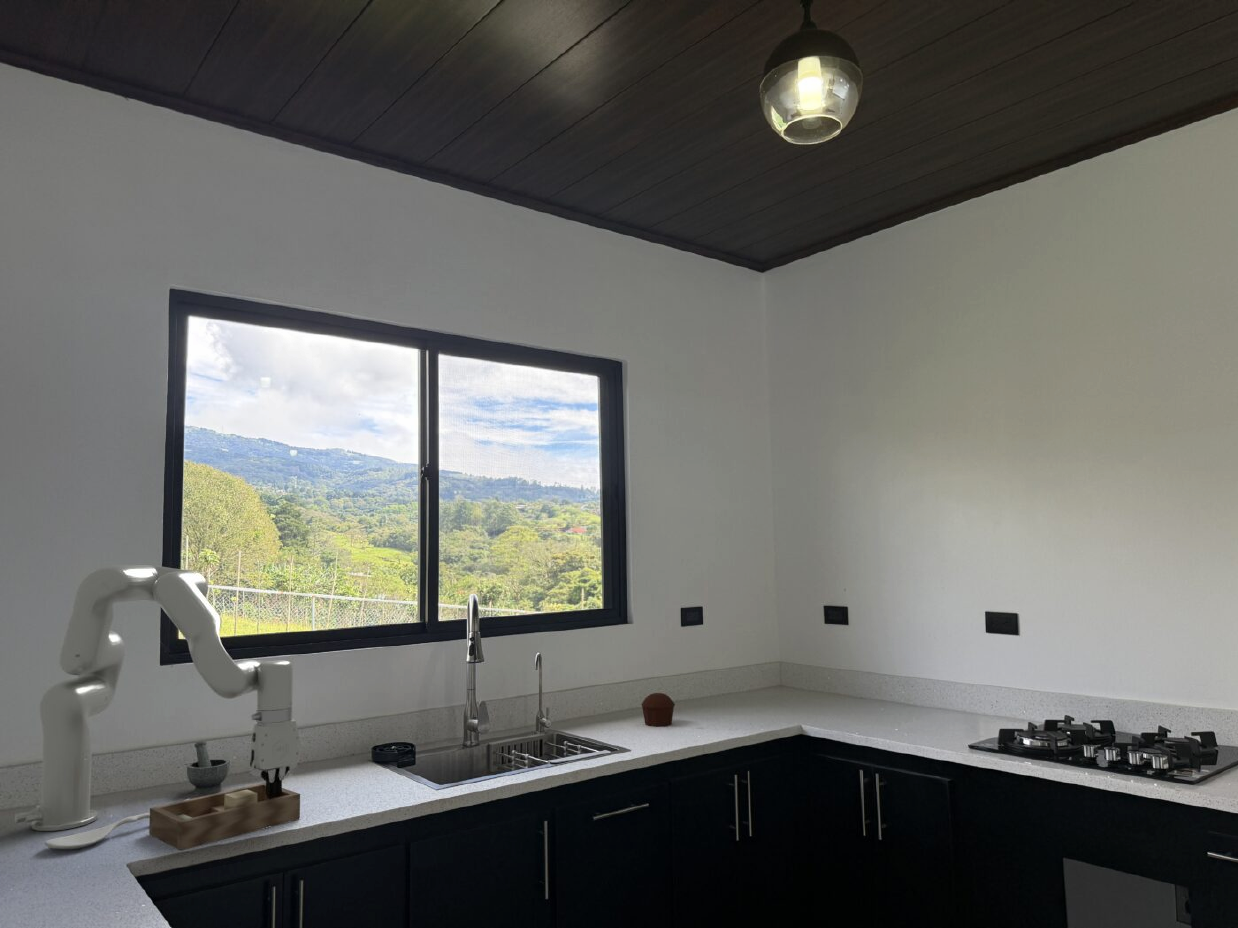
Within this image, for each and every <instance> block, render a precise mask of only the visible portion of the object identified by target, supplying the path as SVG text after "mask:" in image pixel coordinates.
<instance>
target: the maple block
mask: <svg viewBox="0 0 1238 928" xmlns="http://www.w3.org/2000/svg"><path fill="white" fill-rule="evenodd" d="M256 802H257V793H255V792H253V791H250V790H242V791H238V792H233V793H229V794H225V800H224V810H227V809H231V808H235V807H239V806H244V805H248V804H252V803H256Z"/></svg>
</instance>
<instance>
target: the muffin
mask: <svg viewBox="0 0 1238 928" xmlns="http://www.w3.org/2000/svg"><path fill="white" fill-rule="evenodd" d="M640 705H641V707H642V709H641V710H642V714H643V719H644V724H645V726H647V727H652V728H653V727H654V728H660V727H661V728H662V727H670V726H671V725H672V724H673V718H674V717H673V716H674V707H675V705H676V704H675V703H674V701H673V700H672V698H671V697H670V696H669V695H668V694H666V693H662V692H654V693H651V694H649V695H647V696H646V697H645V698H644V700H643V701H642V703H641V704H640Z"/></svg>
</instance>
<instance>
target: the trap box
mask: <svg viewBox="0 0 1238 928" xmlns="http://www.w3.org/2000/svg"><path fill="white" fill-rule="evenodd" d="M242 790H250V791H253V792H255V793H257V802H256V803H252V804H248V805H244V806H239V807H235V808H231V809H227V810H224V800H225V794H229V793H233V792H238V791H242ZM188 799H189V800H186V799H184V800H180V801H176V802H171V803H167V804H162V805H159V806H153V807H150V808H149V813H150V818H149V826H148V827H149V831H148V834H150V836H151V835H152V836H151V837H153V836H154V837H153V838H155V839H157V840H159V841H160V842H163V843H164V844H166V845H169V846H171V847H172V848H173V849H174V848H175V849H176V850H178V851H183V850H188V849H191V848H195V847H199V846H203V845H206V844H210V843H213V842H217V841H221V840H225V839H229V838H233V837H236V836H242V835H245V834H248V833H252V832H256V831H260V830H264V829H267V828H266V827H268V828H270V827H269V826H272V827H275V825H276V826H278V825H283V824H286V823H285V822H287V823H290V822H289V821H291V822H294V821H293V820H295V821H297V820H296V819H299V818H300V819H301V793H298V792H295V791H294V790H293V791H292V790H289V789H286V788H284V787H282V793H281V797H277V798H273V799H268V798H267V796H266V781H265V782H261V783H258V784H252V785H248V786H243V787H239V788H235V789H230V790H229V789H228V790H225V791H222V792H221V791H220V792H217V793H214V794H208V795H201V796H199V797H194V798H188ZM300 819H299V820H300ZM263 828H264V829H263Z"/></svg>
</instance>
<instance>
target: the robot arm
mask: <svg viewBox="0 0 1238 928" xmlns="http://www.w3.org/2000/svg"><path fill="white" fill-rule="evenodd" d="M208 591H209V585H208V582H207V579H205V577H204V576H203V575H202V574H201V573H199V572H197V571H194V570H188V569H181V568H173V567H172V568H171V567H168V566H167V567H166V566H162V565H161V566H160V565H154V564H117V565H110V566H105V567H101V568H99V569H98V568H97V569H95V570H93V571H92V572H90V573H88V574H87V575H86V576H85V577H84V578H83V579H82V580H81V582H80V583H79V585H78V586H77V589H76V593H75V597H74V602H73V606H72V612H71V615H70V618H69V621H68V623H67V624H68V625H67V627H66V628H67V629H66V631H65V635H64V639H63V641H62V642H63V643H62V645H61V646H62V647H61V648H60V649H61V650H60V653H59V659H58V660H59V666H60V668H61V670H62V671H63V672H64V673H65V674H68V675H72V676H77V677H75V678H71V679H67V680H64V681H60V682H57V683H55V684H54V685H52V686H50V687H49V688H48V689H47V690H46V691H45V692H44V694H43V695H42V696H41V700H40V702H39V703H40V704H39V715H40V717H39V718H40V721H41V729H42V730H41V731H42V759H41V760H42V761H41V762H42V763H41V764H42V765H41V787H40V792H41V793H40V804H36V806H35V807H36V808H33V809H31V811H27V812H25V811H24V812H20V813H16V814H14V823H15V824H20V823H25V824H27V823H31V829H33V830H34V831H38V832H55V831H64V830H69V829H74V828H79V827H82V826H85V825H88V824H91V823H93V822H94V821H96V820H97V818H98V811H96V810H94V809H91V788H92V787H91V785H92V758H93V757H92V756H93V755H92V753H93V736H92V731H91V727H90V724H89V720H88V718H90V717H93V716H95V715H98V714H101V713H102V712H104V711H105V710H106V709H107V708H108V707H110V705H111V704H112V702H113V700H114V697H115V695H116V691H117V688H118V685H119V680H120V677H121V672H122V669H123V665H124V662H125V658H126V657H125V656H126V647H125V646H126V645H125V642H124V639H123V638H122V637H121V635H120V634H118V633H117V632H116V631H113V630H111V628H112V625H113V620H114V606H113V605H114V604H116V603H125V602H126V603H127V602H136V601H151V602H156V603H158V605H159V607H161V609H162V611H163V612H164V614H166V615H167V617H168V618H169V619H170V621H171V622H172V623H173V624H174V626H175V627H176V628H177V629H178V631H179V633H181V635H182V636H183V638H184V639H185V641H187V645H188V651H189V653H190V657H191V659H192V662H193V665H194V667H195V669H196V671H197V672H198V674H199V675H200V676H201V678H202V679H203V681H205V683H206V684H207V685H208V687H209V688H210V689H211V690H212V691H213V692H214V693H215V694H216V695H218V696H219V697H221V698H223V699H236V698H239V697H241V696H243V695H246V694H249V693H252V692H256V693H257V695H256V696H257V698H256V699H257V702H256V703H257V705H256V706H257V707H256V708H257V709H256V712H255V713H252V714H251V721H256V723H254V726H253V728H252V733H251V738H250V739H251V740H250V749H249V766H250V772H249V775H250V776H252V777H261V778H262V780H264V781H265V782H266V796H267V798H268V799H273V798H277V797H281V793H282V788H283V781H284V779H285V776H286V775H287V773H289V771H291V770H293V769H296V768H297V767H298V763H299V761H300V757H301V754H300V753H301V751H300V749H301V747H300V735H299V730H298V725H297V720H296V719H293V683H294V682H293V678H294V677H293V675H294V674H293V672H294V671H293V669H294V668H293V664H292V662H290V661H289V660H284V659H283V660H282V659H281V660H280V659H278V660H276V659H275V660H267V661H266V660H265V661H264V660H258V659H257V660H255V659H243V660H240V661H236V662H235V661H234V660H233V658H232V657H231V655H230V654H229V653H228V652H227V651H226V649H225V647H224V646H223V644H222V640H221V637H220V630H221V627H222V617H221V616H220V614H219V613H218V612H217V611H216V610H215V608H214V607H213V606H212V605H211V603H210V602H209V600H207V599H206V597H207V594H208Z"/></svg>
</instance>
